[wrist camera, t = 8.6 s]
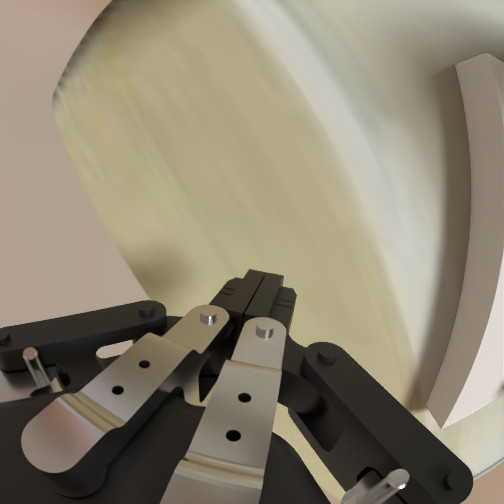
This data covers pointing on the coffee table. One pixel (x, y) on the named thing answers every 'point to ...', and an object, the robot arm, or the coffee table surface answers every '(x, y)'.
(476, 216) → the decorative molding
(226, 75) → the coffee table surface
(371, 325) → the coffee table surface
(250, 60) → the coffee table surface
